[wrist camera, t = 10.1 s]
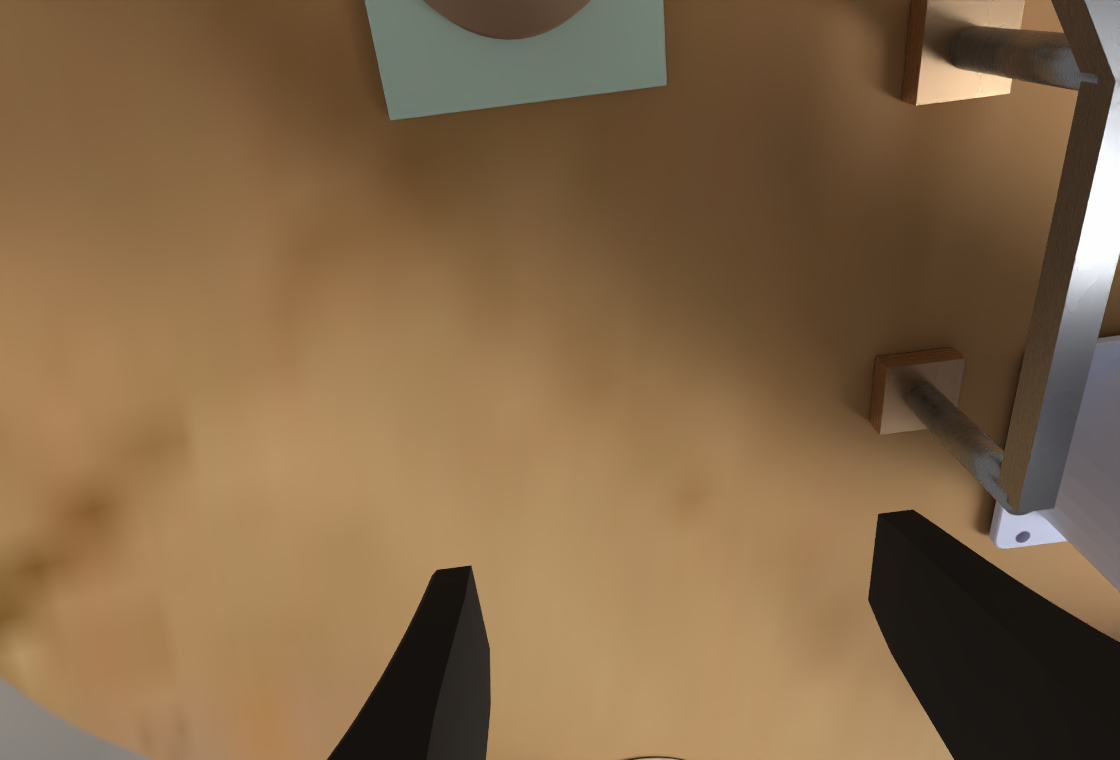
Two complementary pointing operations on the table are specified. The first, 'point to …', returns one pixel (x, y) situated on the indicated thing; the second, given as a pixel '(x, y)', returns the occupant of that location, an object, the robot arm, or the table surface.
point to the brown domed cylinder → (507, 15)
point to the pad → (513, 57)
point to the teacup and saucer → (656, 759)
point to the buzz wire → (1072, 249)
